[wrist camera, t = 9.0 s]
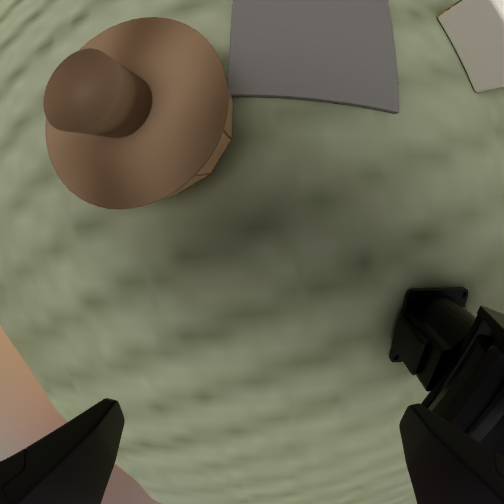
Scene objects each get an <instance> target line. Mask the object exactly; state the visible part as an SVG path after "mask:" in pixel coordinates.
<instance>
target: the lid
mask: <svg viewBox="0 0 504 504" xmlns="http://www.w3.org/2000/svg"><path fill="white" fill-rule="evenodd" d="M228 107H229V89H228V83H227V78H226V75H225V72H224V69H223V66H222V64H221V61H220V58H219V57H218V55H217V53H216V51H215V49H214V48H213V47H212V45H211V44H210V43H209V42H208V40H207V39H206V38H205V37H204V36H202V35H201V34H200V33H199V32H198V31H196V30H195V29H193V28H192V27H190V26H188V25H186V24H183V23H181V22H179V21H175V20H171V19H167V18H157V17H151V18H139V19H134V20H130V21H126V22H123V23H120V24H118V25H115V26H113V27H111V28H109V29H107V30H105V31H103V32H102V33H100V34H98V35H97V36H96V37H94V38H93V39H91V40H90V41H89V42H88V43H86V44H85V45H84V46H83V47H82V48H81V49H80V50H79V51H77V52H75V53H73V54H71V55H70V56H68V57H67V58H66V59H65V60H64V61H63V62H62V63H61V64H60V65H59V66H58V67H57V68H56V70H55V71H54V72H53V74H52V76H51V78H50V80H49V82H48V84H47V87H46V90H45V95H44V112H45V115H46V144H47V149H48V153H49V157H50V160H51V163H52V165H53V167H54V169H55V171H56V173H57V175H58V176H59V178H60V179H61V181H62V182H63V184H64V185H65V186H66V187H67V188H68V189H69V190H70V191H71V192H72V193H74V194H75V195H76V196H77V197H79V198H80V199H82V200H84V201H86V202H88V203H90V204H93V205H95V206H98V207H103V208H108V209H129V208H135V207H139V206H143V205H147V204H150V203H152V202H155V201H158V200H160V199H163V198H165V197H167V196H169V195H170V194H172V193H174V192H176V191H177V190H179V189H180V188H181V187H183V186H184V185H186V184H187V183H188V182H189V181H190V180H191V179H192V178H193V177H195V176H196V175H197V174H198V172H199V171H200V170H201V169H202V168H203V167H204V165H205V164H206V163H207V161H208V160H209V158H210V157H211V155H212V154H213V152H214V151H215V149H216V147H217V145H218V143H219V141H220V138H221V136H222V133H223V131H224V128H225V124H226V120H227V115H228Z"/></svg>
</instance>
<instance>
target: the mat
mask: <svg viewBox="0 0 504 504" xmlns="http://www.w3.org/2000/svg"><path fill="white" fill-rule="evenodd" d="M228 89H229V91H230V94H231V97H268V98H286V99H300V100H311V101H320V102H329V103H337V104H344V105H351V106H357V107H363V108H369V109H374V110H380V111H385V112H390V113H394V114H396V113H399V92H398V75H397V63H396V53H395V44H394V36H393V29H392V22H391V16H390V10H389V4H388V0H233V6H232V20H231V35H230V52H229V70H228Z"/></svg>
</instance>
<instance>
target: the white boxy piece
mask: <svg viewBox="0 0 504 504" xmlns="http://www.w3.org/2000/svg"><path fill="white" fill-rule="evenodd" d="M438 20H439V21H440V23H441V25H442V26H443V28H444V30H445V31H446V33H447V35H448V37H449V39H450V40H451V42H452V44H453V46H454V48H455V50H456V52H457V53H458V55H459V57H460V59H461V61H462V64H463V66H464V68H465V70H466V72H467V74H468V76H469V79H470V81H471V83H472V86H473V88H474V90H475V91H476V92H484V91H488V90H492V89H497V88H501V87H504V0H460V1H459V2H457V3H456V4H454V5H453V6H451V7H450V8H448V9H447V10H446V11H444V12H443V13H441V14H440V15H439V16H438Z"/></svg>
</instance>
